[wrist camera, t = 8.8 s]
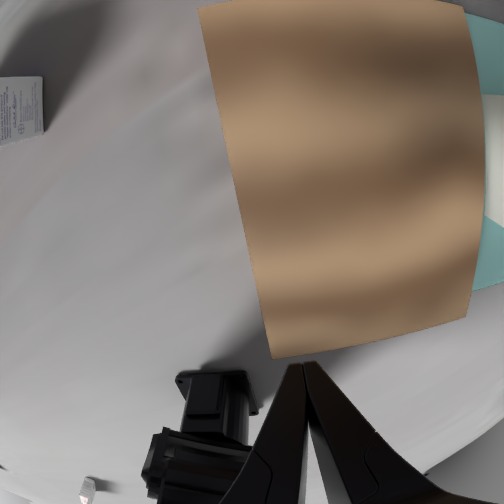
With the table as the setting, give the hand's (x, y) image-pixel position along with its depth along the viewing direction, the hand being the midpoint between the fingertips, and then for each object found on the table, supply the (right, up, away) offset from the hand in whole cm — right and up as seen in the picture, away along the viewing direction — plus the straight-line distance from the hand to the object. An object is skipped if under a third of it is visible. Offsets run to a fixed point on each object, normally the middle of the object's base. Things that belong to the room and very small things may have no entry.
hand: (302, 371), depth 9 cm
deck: (+5, +9, +9) cm, 13 cm away
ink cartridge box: (-37, -48, +37) cm, 71 cm away
